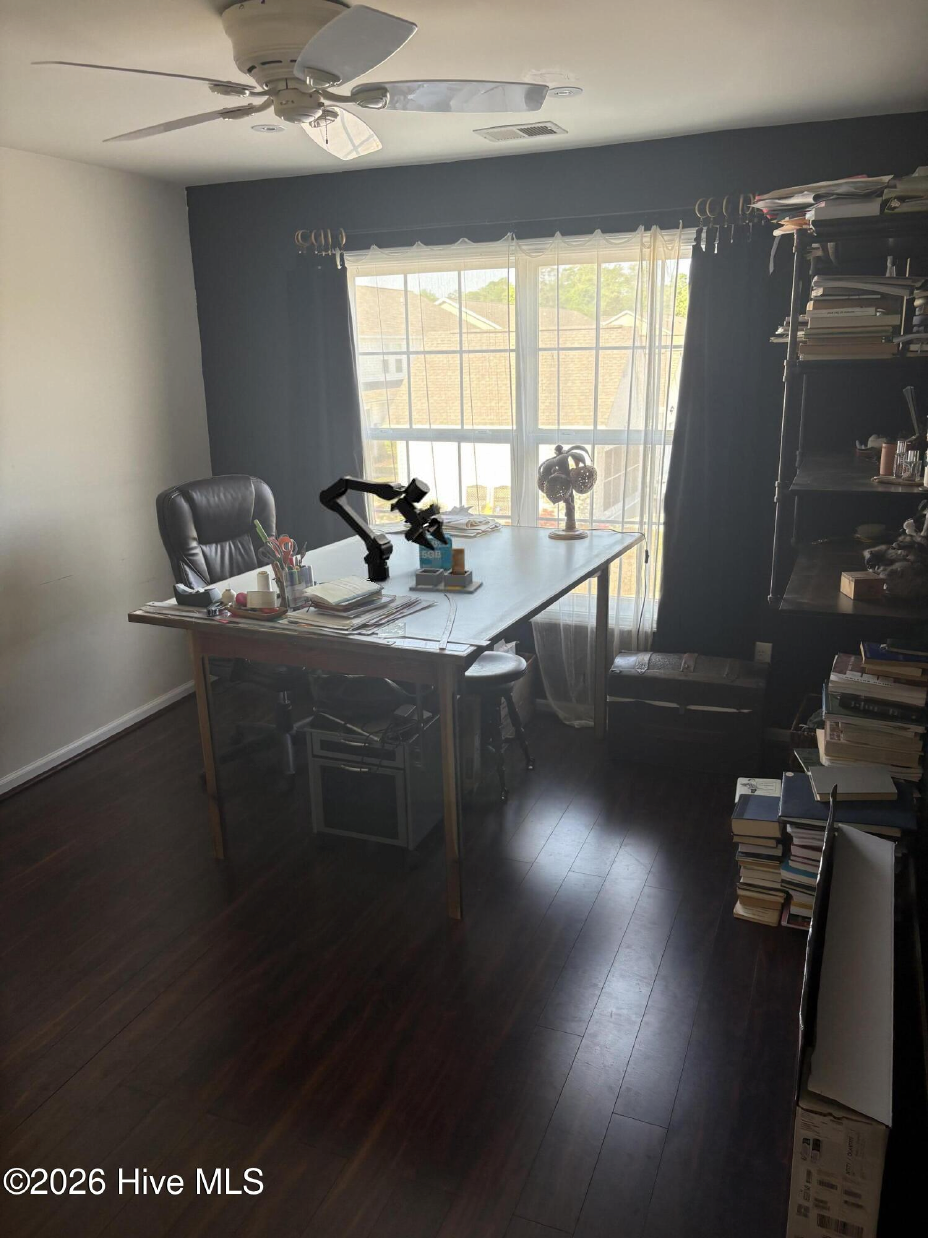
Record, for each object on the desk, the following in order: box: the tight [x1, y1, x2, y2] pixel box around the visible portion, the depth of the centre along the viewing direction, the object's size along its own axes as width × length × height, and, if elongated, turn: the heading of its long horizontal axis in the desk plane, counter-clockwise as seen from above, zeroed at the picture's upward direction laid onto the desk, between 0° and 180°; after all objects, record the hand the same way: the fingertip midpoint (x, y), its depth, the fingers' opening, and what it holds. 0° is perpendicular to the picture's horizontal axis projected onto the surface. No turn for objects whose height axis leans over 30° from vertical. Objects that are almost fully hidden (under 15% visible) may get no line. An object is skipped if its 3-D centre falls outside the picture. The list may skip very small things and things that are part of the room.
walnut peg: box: [451, 546, 466, 575], centre depth 297 cm, size 4×4×12 cm
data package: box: [418, 534, 453, 570], centre depth 324 cm, size 12×4×12 cm, turn 94°
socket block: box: [408, 568, 484, 595], centre depth 298 cm, size 22×12×5 cm, turn 73°
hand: (440, 547), depth 298 cm, fingers open, 9 cm apart
